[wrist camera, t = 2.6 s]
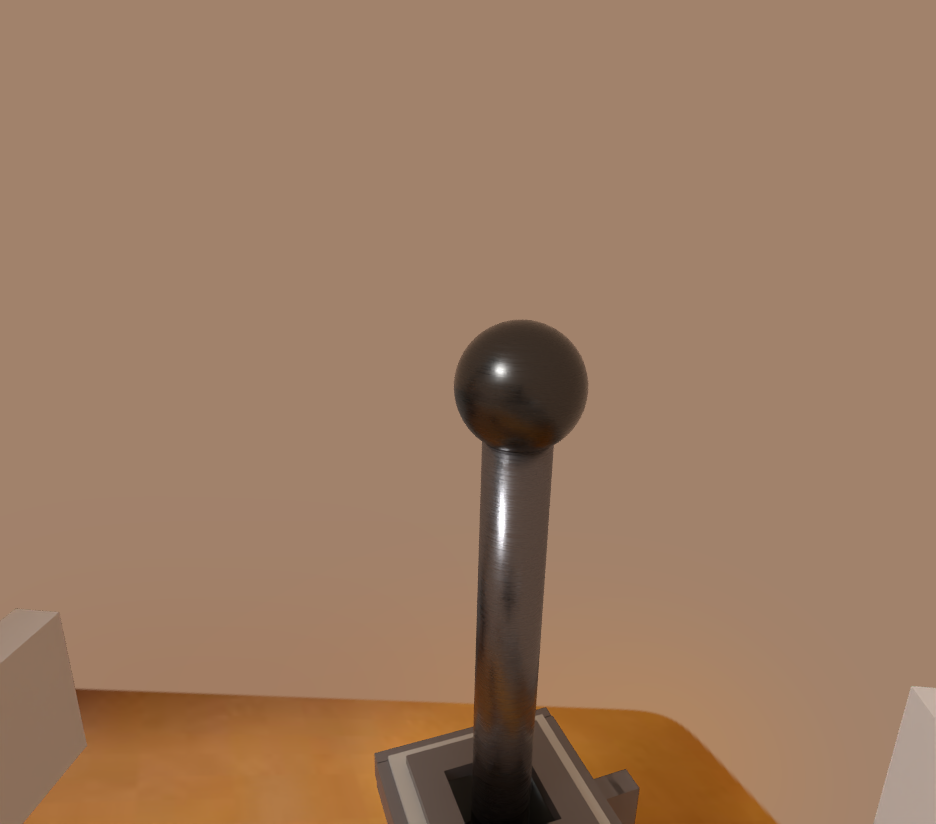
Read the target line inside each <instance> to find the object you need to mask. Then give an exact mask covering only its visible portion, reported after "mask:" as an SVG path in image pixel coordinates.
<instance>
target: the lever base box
mask: <svg viewBox="0 0 936 824" xmlns="http://www.w3.org/2000/svg"><path fill="white" fill-rule="evenodd" d="M473 730H474V727H471V728H467V729H463V730H460V731H456V732H452V733H448V734H445V735H441V736H437V737H434V738H430V739H426V740H422V741H419V742H415V743H411V744H407V745H404V746H400V747H396V748H393V749H389V750H385V751H381V752H378V753H375V776H376V780H377V788H378V791H379V795H380V798H381V802H382V806H383V809H384V813H385V816H386V820H387V823H388V824H465V823H467V822H469V821H471V795H472V762H473ZM638 795H639V787H638V785H637V784H636V783H635V781H634V780H633V778H632V777H631V776H630V774H629V773H628V771H627V770H626V769H624V770H621V771H618V772H615V773H612V774H609V775H605V776H602V777H599V778H596V779H593V778H592V776H591V775H590V773H589V772H588V770H587V769H586V767H585V765H584V764H583V762H582V761H581V759H580V758H579V756H578V755H577V753H576V751H575V750H574V748H573V747H572V745H571V744H570V742H569V741H568V739H567V737H566V736H565V734H564V733H563V731H562V730H561V728H560V726H559V725H558V723H557V722H556V720H555V719H554V717H553V716H551V714H550V713H549V711H548V710H547V708H546V707H545V708H542V709H538V710H536V713H535V727H534V742H533V757H532V772H531V786H530V801H529V816H528V824H635V817H636V809H637V802H638Z"/></svg>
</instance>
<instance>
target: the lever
mask: <svg viewBox="0 0 936 824" xmlns="http://www.w3.org/2000/svg"><path fill="white" fill-rule="evenodd" d="M587 379H588V378H587V373H586V368H585V365H584V362H583V360H582V357H581V355H580V354H579V352H578V351H577V349H576V348H575V346H574V345H573V344H572V343H571V341H570V340H569V339H568V338H567V337H565V336H564V335H563V334H562V333H560V332H559V331H557V330H556V329H554V328H552V327H550V326H548V325H546V324H543V323H539V322H536V321H531V320H512V321H507V322H502V323H499V324H497V325H494V326H492V327H490V328H488V329H487V330H485V331H483V332H482V333H481V334H479V335H478V336H477V337H476V338H475V339H474V340H473V341H472V342H471V343H470V344H469V345H468V347H467V348H466V350H465V351H464V353H463V355H462V356H461V358H460V361H459V363H458V366H457V369H456V373H455V381H454V393H455V400H456V405H457V408H458V411H459V413H460V415H461V417H462V419H463V421H464V423H465V424H466V425H467V427H468V428H469V429H470V431H471V432H472V433H473V434H474V435H475V436H476V437H477V438H479V439H480V440H481V441H482V466H481V467H482V468H481V500H480V503H481V504H480V534H479V536H480V537H479V566H478V598H477V631H476V632H477V633H476V666H475V698H474V730H473V762H472V795H471V821H469V822H467V823H465V824H528V816H529V801H530V786H531V772H532V757H533V742H534V727H535V713H536V698H537V682H538V667H539V654H540V638H541V624H542V609H543V594H544V579H545V565H546V550H547V535H548V520H549V506H550V491H551V477H552V461H553V447H554V444H556V443H558V442H559V441H561V440H562V439H563V438H564V437H565V436H567V435H568V434H569V433H570V432H571V431H572V429H573V428H574V427H575V425H576V424H577V422H578V421H579V419H580V418H581V415H582V413H583V411H584V408H585V405H586V401H587V395H588V380H587Z"/></svg>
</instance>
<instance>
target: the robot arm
mask: <svg viewBox="0 0 936 824" xmlns="http://www.w3.org/2000/svg"><path fill="white" fill-rule="evenodd" d="M86 746H87V743H86V739H85V734H84V729H83V724H82V719H81V715H80V710H79V705H78V700H77V695H76V691H75V686H74V681H73V677H72V671H71V667H70V662H69V657H68V653H67V647H66V643H65V638H64V633H63V629H62V623H61V619H60V614H59V612H51V611H39V610H27V609H14V610H13V611H12V612H11V613H10V614H8V615H7V616H6V617H4V618H3V619H2V620H1V621H0V824H23V822H24V821H25V820H26V819H27V818H28V816H29V815H30V814H31V813H32V812H33V810H34V809H35V808H36V807H37V805H38V804H39V803H40V802H41V801H42V799H43V798H44V797H45V796H46V795H47V793H48V792H49V791H50V790H51V789H52V787H53V786H54V785H55V784H56V782H57V781H58V780H59V779H60V778H61V776H62V775H63V774H64V773H65V772H66V770H67V769H68V768H69V767H70V766H71V764H72V763H73V762H74V761H75V759H76V758H77V757H78V756H79V755H80V753H81V752H82V751H83V750H84V749H85V747H86ZM873 824H936V688H928V687H916V686H911V689H910V693H909V696H908V700H907V704H906V707H905V711H904V715H903V718H902V722H901V725H900V729H899V732H898V736H897V740H896V743H895V747H894V751H893V754H892V758H891V762H890V765H889V769H888V772H887V776H886V780H885V783H884V787H883V791H882V794H881V798H880V801H879V805H878V809H877V812H876V816H875V820H874V823H873Z"/></svg>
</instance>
